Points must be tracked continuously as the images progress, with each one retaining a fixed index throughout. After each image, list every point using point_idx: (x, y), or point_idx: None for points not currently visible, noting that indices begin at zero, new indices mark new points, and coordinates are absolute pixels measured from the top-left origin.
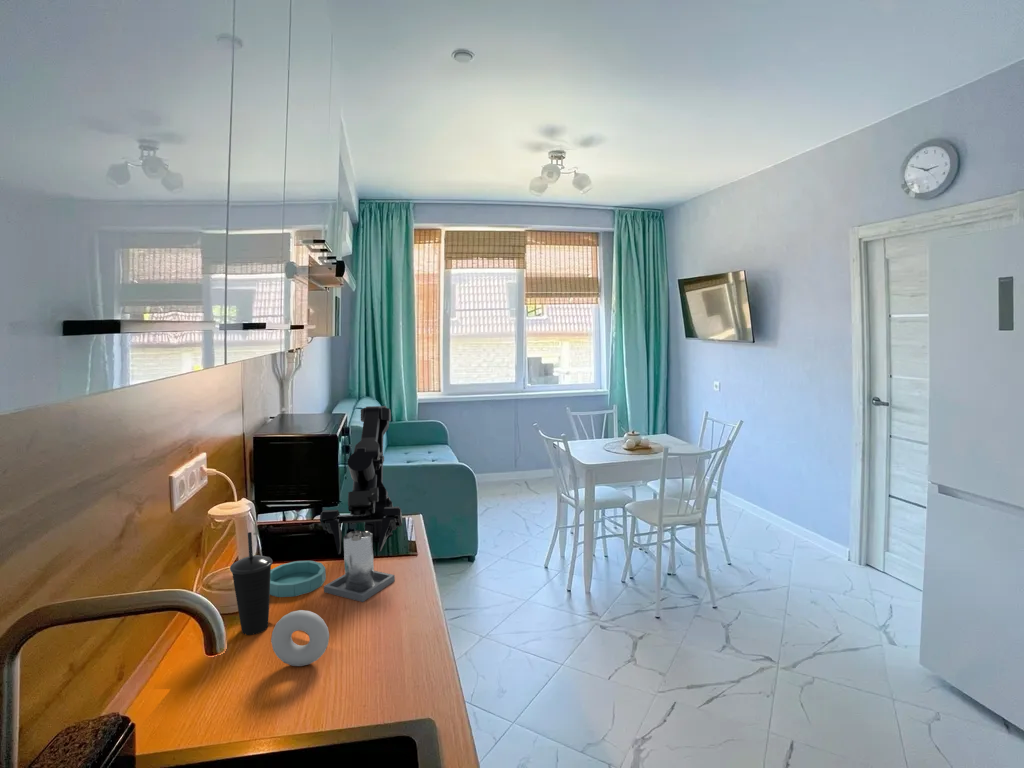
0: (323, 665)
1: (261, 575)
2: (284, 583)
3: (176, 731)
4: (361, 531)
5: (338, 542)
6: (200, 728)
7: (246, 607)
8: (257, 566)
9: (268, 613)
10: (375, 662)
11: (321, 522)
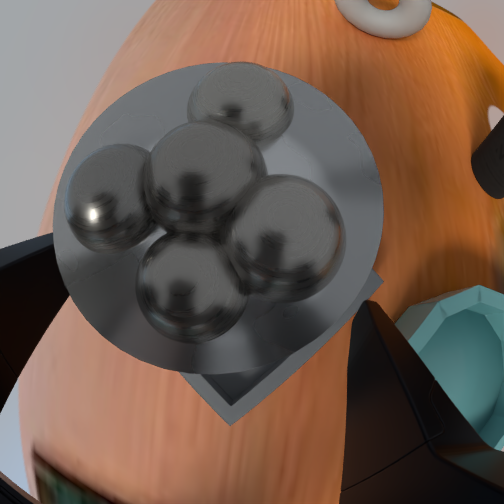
0: (335, 19)
1: None
2: (500, 305)
3: (458, 26)
4: (133, 340)
5: (393, 344)
6: (439, 17)
7: None
8: None
9: (487, 149)
10: (254, 2)
11: None
